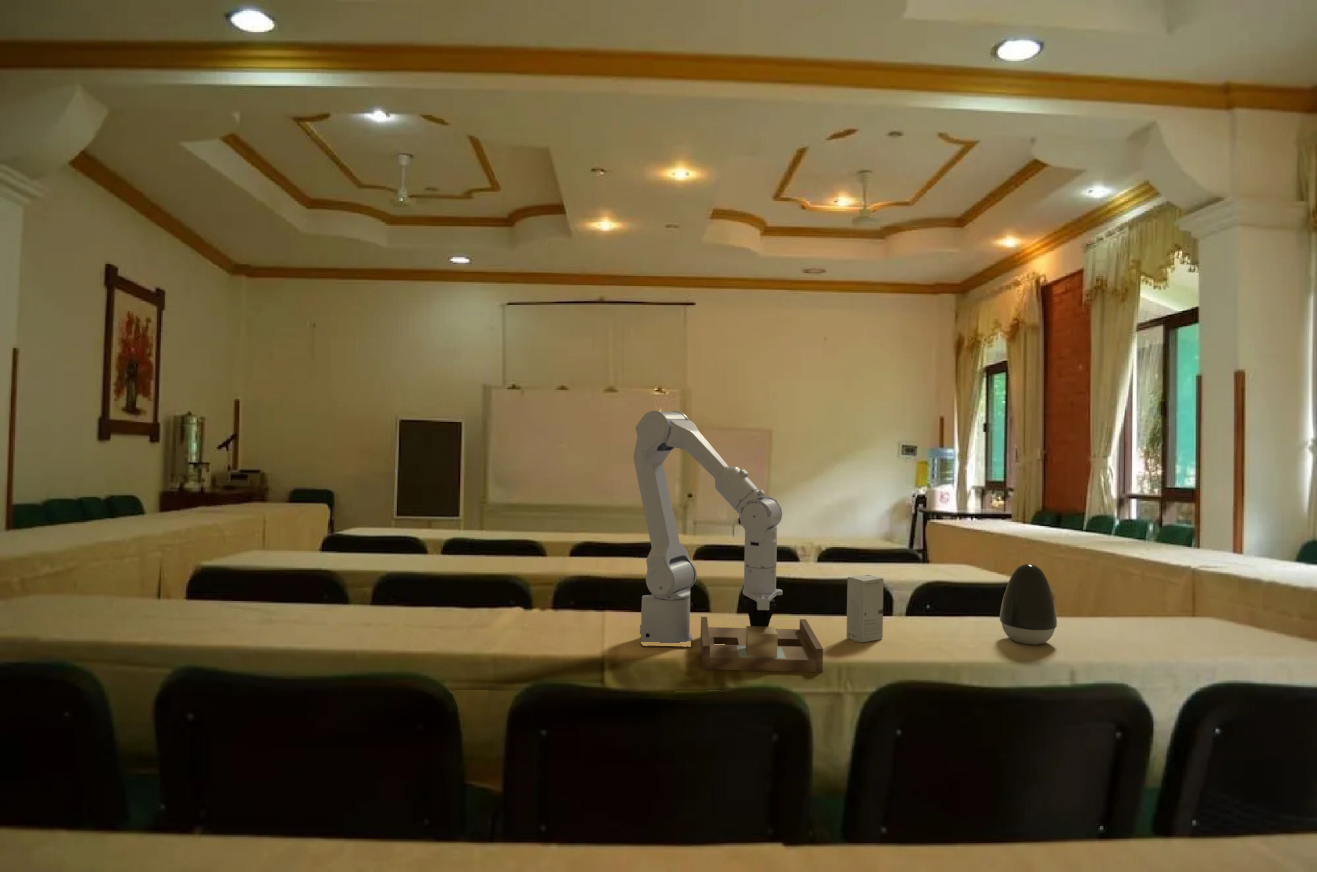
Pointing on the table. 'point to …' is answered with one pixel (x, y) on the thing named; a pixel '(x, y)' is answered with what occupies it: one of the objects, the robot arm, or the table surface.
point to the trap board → (792, 655)
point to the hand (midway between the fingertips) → (758, 640)
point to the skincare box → (865, 608)
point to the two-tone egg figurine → (1028, 607)
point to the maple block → (761, 641)
